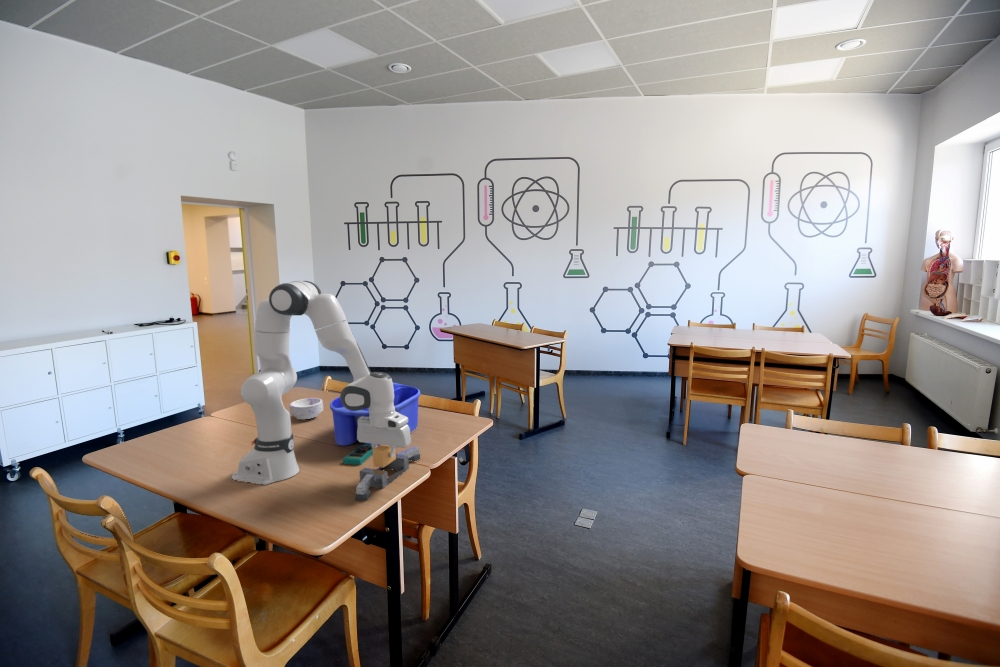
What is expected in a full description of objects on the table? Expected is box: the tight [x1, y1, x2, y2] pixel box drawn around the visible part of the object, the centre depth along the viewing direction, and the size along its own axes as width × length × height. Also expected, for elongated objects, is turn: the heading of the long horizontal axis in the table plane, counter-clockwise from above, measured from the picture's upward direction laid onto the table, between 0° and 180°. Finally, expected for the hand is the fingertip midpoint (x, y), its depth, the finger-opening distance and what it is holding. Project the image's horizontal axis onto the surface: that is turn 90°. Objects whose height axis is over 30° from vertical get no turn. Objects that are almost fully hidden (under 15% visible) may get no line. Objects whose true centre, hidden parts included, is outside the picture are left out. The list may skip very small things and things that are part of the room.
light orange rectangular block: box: [372, 445, 397, 468], centre depth 178 cm, size 8×4×6 cm, turn 160°
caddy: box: [329, 382, 421, 446], centre depth 221 cm, size 32×45×23 cm
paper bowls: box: [289, 397, 324, 420], centre depth 246 cm, size 15×15×8 cm
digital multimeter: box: [342, 444, 373, 466], centre depth 197 cm, size 7×15×3 cm, turn 168°
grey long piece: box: [354, 445, 421, 501], centre depth 179 cm, size 37×9×5 cm, turn 160°
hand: (384, 456), depth 178 cm, fingers closed on light orange rectangular block, 4 cm apart
